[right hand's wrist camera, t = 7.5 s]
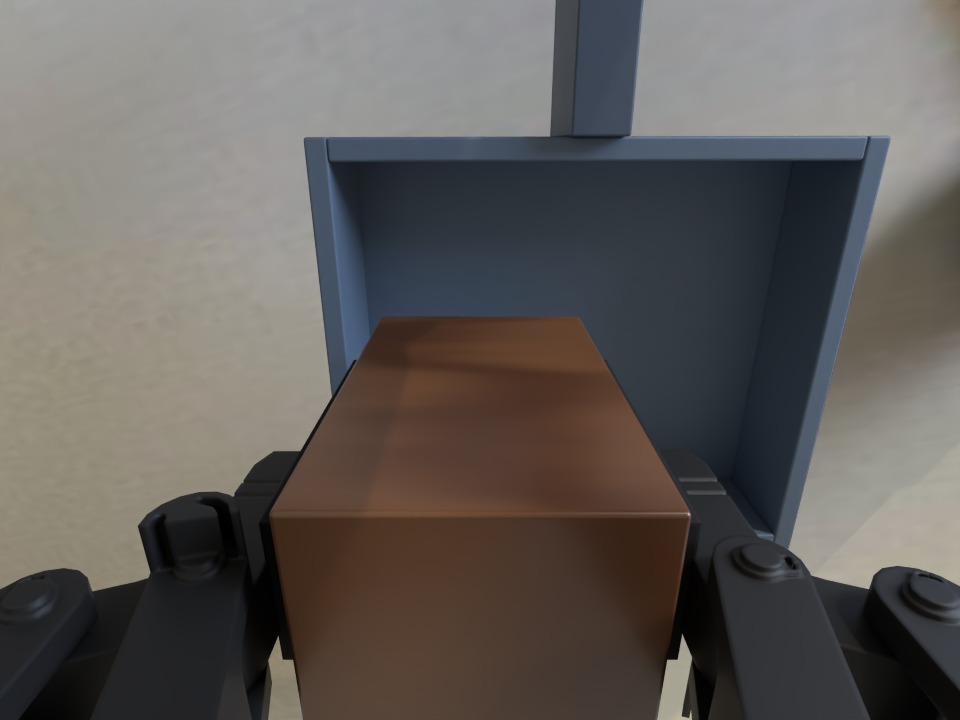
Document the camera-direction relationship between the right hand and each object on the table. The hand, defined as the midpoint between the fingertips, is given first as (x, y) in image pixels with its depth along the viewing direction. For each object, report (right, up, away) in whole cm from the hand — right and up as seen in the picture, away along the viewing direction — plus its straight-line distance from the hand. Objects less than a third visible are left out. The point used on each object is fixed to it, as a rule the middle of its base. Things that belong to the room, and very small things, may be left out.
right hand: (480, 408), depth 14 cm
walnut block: (0, 0, 0) cm, 0 cm away
